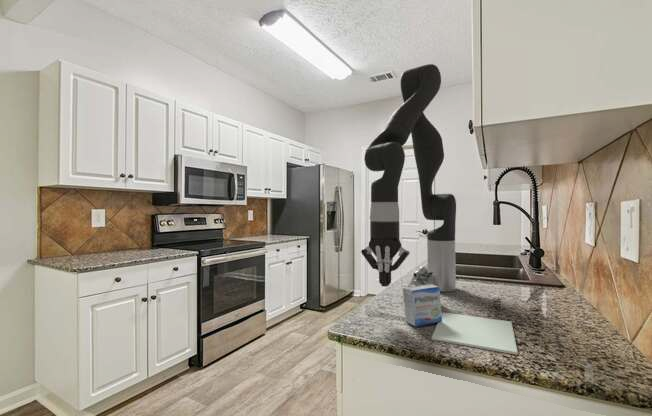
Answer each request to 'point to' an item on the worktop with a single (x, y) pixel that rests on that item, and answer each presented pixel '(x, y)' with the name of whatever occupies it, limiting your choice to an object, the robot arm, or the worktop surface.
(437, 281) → the heart
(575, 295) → the worktop surface
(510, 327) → the cutting board
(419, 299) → the medicine box
